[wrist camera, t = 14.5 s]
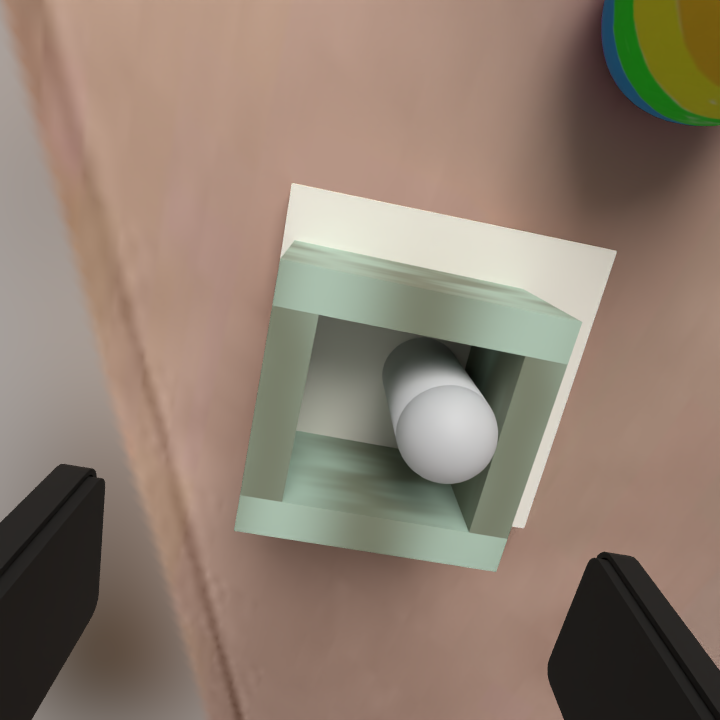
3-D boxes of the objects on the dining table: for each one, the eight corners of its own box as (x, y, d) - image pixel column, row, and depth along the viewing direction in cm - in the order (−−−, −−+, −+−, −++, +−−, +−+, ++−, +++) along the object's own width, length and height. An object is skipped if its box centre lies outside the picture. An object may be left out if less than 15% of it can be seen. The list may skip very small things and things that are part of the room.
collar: (523, 288, 24) (582, 321, 18) (461, 488, 26) (495, 571, 21) (294, 240, 23) (280, 258, 17) (256, 453, 25) (234, 530, 20)
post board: (601, 247, 25) (747, 282, 16) (514, 511, 29) (593, 655, 20) (294, 183, 23) (269, 182, 14) (249, 470, 27) (208, 605, 19)
